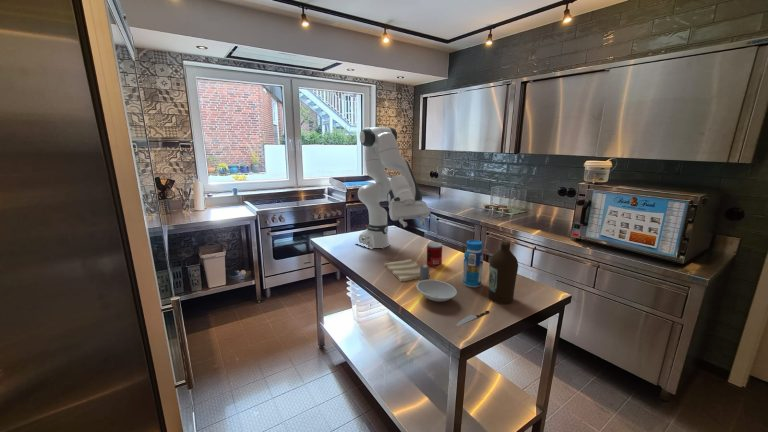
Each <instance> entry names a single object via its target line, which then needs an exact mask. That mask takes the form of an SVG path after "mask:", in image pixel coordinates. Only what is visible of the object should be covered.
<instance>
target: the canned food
mask: <svg viewBox="0 0 768 432" xmlns="http://www.w3.org/2000/svg"><path fill="white" fill-rule="evenodd" d="M426 245H427V246H426V264H427V266H428V267H434V268H435V267H440V266H441V265H442V261H443V243H441V242H437V241H436V242H435V241H433V242H432V241H431V242H427V244H426Z"/></svg>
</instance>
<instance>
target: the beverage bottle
mask: <svg viewBox="0 0 768 432" xmlns="http://www.w3.org/2000/svg"><path fill="white" fill-rule="evenodd" d="M465 245H466V250H465V252H464V253H463V254H464V255H463V257H464V258H463V271H462V273H463V274H462V284H463V285H464V286H465V287H469V288H478V287H481V285H482V277H483V276H482V275H483V266H484V260H483V259H484V255H483V252H482V250H483V242H482V241H481V240H479V239H469V240H467V241H466V244H465Z"/></svg>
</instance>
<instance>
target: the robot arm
mask: <svg viewBox="0 0 768 432" xmlns="http://www.w3.org/2000/svg"><path fill="white" fill-rule="evenodd" d="M397 140H398V133H397V130H396V129H395V128H394V127H390V126H374V127H368V126H366V127H364V128H362V129H361V130H360V131H359V141H360V143H361V145H362V146H364V147H365V155H364V157H365V158H364V159H365V169H366V174H367V176H369V177H370V178H372V179H373V180H374V182H375V183H369V184H365V185H362V186H360V187H359V188H358V190H357V197H358V200H359V201H360V202H361V203H363V204H364V205H365V206H366V208H367V211H368V221H369V223H367V224H366V229H365V230H364V231H362V232H361V233H360V234H359V236H358V240H359V242H360V243H363V244H366V245H368V248H382V247H387V246H389V244H390V241H389V235H388V234H389V233H388V231H389V223H388V215H389V218H390V220H392V222H393V221H398V222H399V223H400V224H401V225H402V227H403V228H407V226H408V222H407V221H404V220H411V219H413V220H415V219H421V220H420V222H419V223H420V225H421V226H425V225H426V220H425V219H426V218H428V217H429V216H430V214H431V210H430V208H429V207H428V205H427V203H426V201H424V200H423V194H422V192H421V189H420V187H419V185H418V184H417V182H416V179H415V175H414V173H413V171H412V168H411V166H410V163H409V162H408V160H407V159H405V158H404V157H403V156H402V155H401V153H400V149H399V144H398V142H397ZM386 169H389V170H392V171H396V172H399V173H401V174H395V175H393V176H392V177H390V179H389V177H388V175H387V173H386ZM380 202H387V203H388V209H389V210H388V212H387V210H386V209H385V208H384V207H382V206H381V204H380ZM389 247H390V246H389ZM387 248H388V247H387ZM382 249H383V248H382Z"/></svg>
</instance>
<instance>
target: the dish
mask: <svg viewBox="0 0 768 432" xmlns="http://www.w3.org/2000/svg"><path fill="white" fill-rule="evenodd" d="M415 288H416V289H417V291H418V292H419V293H421V295H422V296H424V297H425V298H426V299H428V300H430V301H433V302H439V303H440V302H446V301H449V300H450V299H452V298H455V297H456V296H457V294H458V291H457V289H456V288H455V286H453V285H452V284H450V283H448V282H445V281H443V280H439V279H438V280H437V279H429V280H422V281H420V280H419V281H418V282H417V283H416V287H415Z"/></svg>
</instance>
